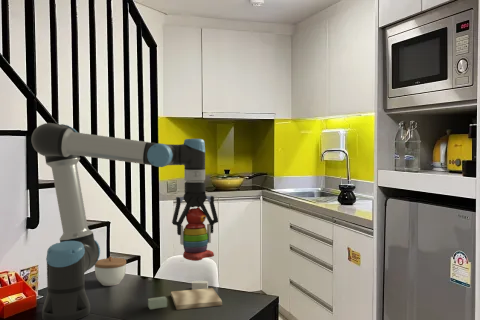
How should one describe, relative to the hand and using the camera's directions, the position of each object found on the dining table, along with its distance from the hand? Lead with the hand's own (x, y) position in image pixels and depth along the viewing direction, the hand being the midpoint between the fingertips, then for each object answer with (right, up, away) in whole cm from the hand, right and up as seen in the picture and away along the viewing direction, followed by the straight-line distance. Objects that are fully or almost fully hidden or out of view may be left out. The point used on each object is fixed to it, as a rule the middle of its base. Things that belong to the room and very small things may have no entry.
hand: (195, 243), depth 165 cm
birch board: (0, -21, 0) cm, 21 cm away
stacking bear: (0, -5, 0) cm, 5 cm away
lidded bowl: (-37, -21, +22) cm, 48 cm away
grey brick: (0, -21, +14) cm, 25 cm away
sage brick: (-13, -21, -6) cm, 26 cm away
